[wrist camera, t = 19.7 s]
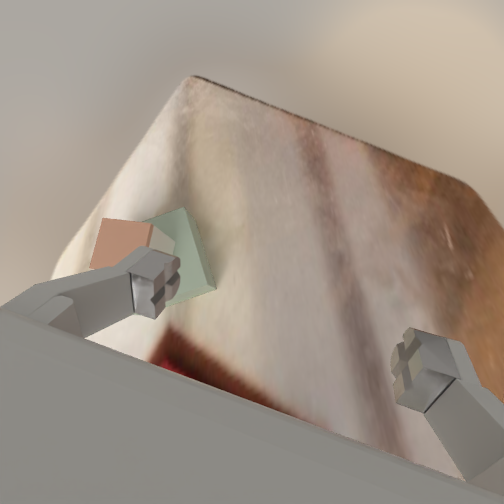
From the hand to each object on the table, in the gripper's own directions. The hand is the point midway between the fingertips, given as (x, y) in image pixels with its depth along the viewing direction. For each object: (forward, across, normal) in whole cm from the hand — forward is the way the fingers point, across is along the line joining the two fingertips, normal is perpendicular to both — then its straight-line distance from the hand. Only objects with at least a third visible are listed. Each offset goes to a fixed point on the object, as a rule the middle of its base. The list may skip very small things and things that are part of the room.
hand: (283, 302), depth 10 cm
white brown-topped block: (+21, +20, +18) cm, 34 cm away
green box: (+26, +19, +22) cm, 39 cm away
